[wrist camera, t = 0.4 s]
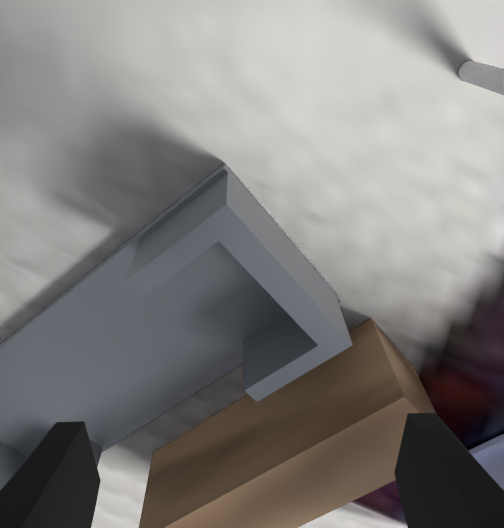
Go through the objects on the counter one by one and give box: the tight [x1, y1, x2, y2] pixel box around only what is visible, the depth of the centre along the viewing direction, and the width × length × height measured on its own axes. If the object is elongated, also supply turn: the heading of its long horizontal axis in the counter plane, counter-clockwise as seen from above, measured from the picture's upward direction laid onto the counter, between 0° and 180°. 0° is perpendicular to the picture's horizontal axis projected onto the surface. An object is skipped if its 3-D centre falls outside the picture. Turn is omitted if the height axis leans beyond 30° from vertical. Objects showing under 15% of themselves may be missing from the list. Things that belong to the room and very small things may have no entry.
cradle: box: [0, 163, 353, 490], centre depth 20 cm, size 8×19×4 cm, turn 129°
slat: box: [139, 318, 436, 528], centre depth 22 cm, size 4×14×5 cm, turn 129°
